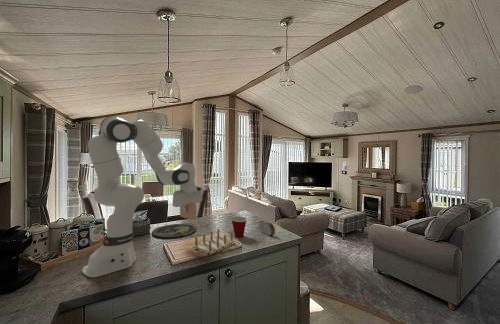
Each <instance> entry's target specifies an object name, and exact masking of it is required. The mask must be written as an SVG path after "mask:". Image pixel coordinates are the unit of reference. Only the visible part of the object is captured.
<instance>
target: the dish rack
mask: <svg viewBox="0 0 500 324" xmlns="http://www.w3.org/2000/svg"><path fill="white" fill-rule="evenodd" d="M209 233H210V238H209V239H207V240H206V234H205V233H203V235H202V241H201V242H199V243H198V237H197V236H196V237H194V240H195V242H194V243H195V244H193V245H192V249H193V248H196V249H199V250H202V251H205V252H209V253H211V254H212V253H213V252H215V251H218V250H220V249H222V248H224V247H226V246H228V245H230V244H232V243H234V242H235V243H236V240H234V239H233V235H234V234H233V233H234V231H231V232H230V238H227V235H226V234H223V236H220V228H217V232H216V233H217V236H214V237H213V231H210V232H209ZM228 247H229V246H228ZM226 248H227V247H226ZM196 249H195V250H196ZM224 249H225V248H224ZM199 250H198V251H199ZM222 250H223V249H222ZM202 251H201V252H202ZM220 251H221V250H220ZM205 252H204V253H205ZM218 252H219V251H218ZM211 254H210V255H211ZM212 255H213V254H212Z"/></svg>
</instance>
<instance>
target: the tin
mask: <svg viewBox="0 0 500 324" xmlns="http://www.w3.org/2000/svg"><path fill="white" fill-rule="evenodd" d="M258 230H259V232H260V233H261V234H264V235H266V236H269V237H270V236H273V235H275V233H276V232H275V231H276V230H275V226H274V224H273V223H272V222H269V221H267V220H264V219H263V220H262V219H261V220H260V221H259V222H258Z"/></svg>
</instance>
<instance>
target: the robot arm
mask: <svg viewBox="0 0 500 324" xmlns="http://www.w3.org/2000/svg"><path fill="white" fill-rule="evenodd" d="M130 141H133V142H134V143H135V144H136V146H137V147H138V148H139V150H140V151H141V153H142V154H143V156H144V158H145V160H146V161H147V163H148V164H149V166H150V167H151V169H152V170H153V172H154V174H155V178H156V180H157V182H158V183H159V184H160V185H163V186H179V187H180V188H179V190H175V191H174V192H173V194H172V202H171V205H172V206H173V207H174V208H180V206H182V208H183V209H184V213H186V212H187V209H186V208H185V207H186V205H188V204H189V203H195V204H197V203H202V201H203V192H202V187H201V186H197V185H196V181H195V178H196V170H195V165H194V163H192V162H185V161H184V162H181V163H180V164H179V165H178V166H176V167H174V168H171V167H167V166H165V165H164V163H163V161H162V160H161V159H160V157H159V154H160V153H161V152H162V151H163V148H164V144H163V141H162V140H161V138H160V136H159V135H158V134H157V132H156V131H155V130H154V129H153V127H152V126H151V125H150V124H149V123H147V122H146V121H145V120H142V119H138V120H135V121H133V122H130V121H128V120H126V119H123V118H121V117H118V116H108V117H106V118H104V119H103V120H102V121H101V124H100V126H99V131H98V135H96V136H93V137H91V138H90V139H89V140H88V142H87V149H88V154H89V157H90V161H91V164H92V165H93V169H94V171H95V174H96V176H97V187H96V189H95V190H94V193H93V199H94V201H95V202H96V203H97V204H100V205H103V206H106V207H107V206H108V207H114V210H113V212H112V215H110V216H109V217H108V218H107V220H106V236H105V237H103V236H100V237H99V238H98V242H100V243H102V245H101V246H99V248H97V249H96V250H95V251H94V252H93V253H92V254H91V255H90V256H89V258H88V264H87V265H85V266H83V267H82V268H81V269H82V274H83V275H84V276H86V277H88V278H98V277H101V276H104V275H108V274H111V273H114V272H117V271H121V270H123V269H128V268H131V267H132V266H133V263H135V262H136V261H137V256H136V253H135V249H134V231H133V218H134V213H135V211H136V209H137V207H139V205H141V204H142V203H143V201H144V198H145V197H144V196H145V192H144V190H143V189H142V188H141V187H140V186H139V185H135V184H127V183H125V184H124V183H121V182H120V177H121V176H122V175H123V173H124V167H123V163H122V160H121V158H120V155H119V152H118V148H117V145H118V144H119V143H126V142H130Z"/></svg>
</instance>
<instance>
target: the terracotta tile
mask: <svg viewBox="0 0 500 324" xmlns="http://www.w3.org/2000/svg"><path fill="white" fill-rule="evenodd" d="M185 208H186V209H187V212H186V213H184V209H183V208H182V206H180V207H179V215H180V217H181V218H184V219H190V220H193V221H194V220H196V219H197V203H189V204H188V205H186V207H185Z"/></svg>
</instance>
